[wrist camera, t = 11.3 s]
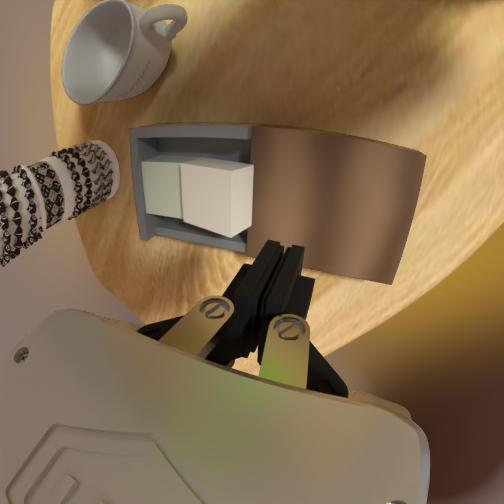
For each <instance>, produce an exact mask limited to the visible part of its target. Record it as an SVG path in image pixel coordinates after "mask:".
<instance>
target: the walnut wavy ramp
mask: <svg viewBox="0 0 504 504" xmlns="http://www.w3.org/2000/svg"><path fill="white" fill-rule="evenodd" d="M425 161H426V155H424V154H423V153H421V152H419V151H417V150H414V149H410V148H406V147H402V146H398V145H394V144H390V143H385V142H381V141H376V140H371V139H367V138H361V137H356V136H351V135H345V134H339V133H333V132H326V131H319V130H312V129H304V128H295V127H286V126H275V125H257V126H252V134H251V159H250V164H251V165H254V175H253V200H252V225H251V226H250V227H248V237H247V256H249V257H254V258H257V256H258V254H259V253H260V251H261V250H262V248H263V246H264V245H265V243H266V242H267V240H273V241H278V242H280V245H282V246H284V253H285V251H286V248H287V247H292V245H298V246H303V247H305V252H304V258H303V265H302V267H304V268H308V269H313V270H318V271H323V272H328V273H333V274H338V275H343V276H348V277H353V278H359V279H364V280H369V281H374V282H379V283H384V284H389V285H392V283H393V280H394V277H395V274H396V272H397V269H398V266H399V263H400V260H401V257H402V254H403V250H404V247H405V244H406V241H407V237H408V234H409V230H410V227H411V223H412V220H413V216H414V212H415V208H416V204H417V200H418V196H419V191H420V187H421V182H422V177H423V172H424V167H425Z"/></svg>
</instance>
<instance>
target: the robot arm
mask: <svg viewBox="0 0 504 504" xmlns="http://www.w3.org/2000/svg"><path fill="white" fill-rule="evenodd" d="M304 252H305V247H303V246H298V245H292V247H287V248H286V251H285V253H284V246H282V245H280V242H278V241H273V240H267V242H266V243H265V245H264V246H263V248H262V250H261V251H260V253H259V254H258V256H257V258H256V259H255V261H254V262H253V264H252V265H250V264H244V265H243V266H242V267H241V269H240V270H239V272H238V273H237V274H236V276H235V277H234V279H233V280H232V282H231V283H230V285H229V286H228V288H227V289H226V291H225V292H224V294H223V295H222V296H208V297H205V298H203V299H202V300H200V301H199V302H198V303H197V304H196V305H195V306H194V307H193V308H192V309H191V310H190V311H188V312H187V313H186V314H185V315H184V316H180V317H176V318H172V319H168V320H164V321H160V322H156V323H152V324H148V325H146V326H143V327H142V328H140V325H138V324H133V323H128V322H122V321H118V320H113V319H108V318H103V317H101V316H99V315H96V314H93V313H89V312H86V311H81V310H75V309H63V310H58V311H55V312H53V313H51V314H50V315H49V316H47V317H46V318H45V319H43V320H42V321H41V322H40V323H39V324H38V325H36V327H34V328H33V329H32V330H31V331H30V332H29V333H28V334H27V335H26V336H25V337H24V338H23V339H22V340H21V341H20V342H19V343H18V344H17V345H16V347H15V348H14V349H13V350H12V351H11V352H10V353H9V354H8V355H7V357H6V358H5V359H4V360H3V361H2V363H1V364H0V504H426V500H427V494H428V486H429V476H430V453H429V446H428V441H427V438H426V436H425V434H424V432H423V431H422V429H421V428H420V427H419V426H418V425H417V424H415V423H414V422H413V421H411V417H410V414H409V412H408V411H407V410H406V409H405V408H404V407H402V406H400V405H397V404H394V403H391V402H389V401H386V400H383V399H380V398H378V397H375V396H372V395H370V394H367V393H365V392H362V391H360V390H356V392H354V391H352V390H350V389H348V388H347V386H346V384H345V383H344V381H343V380H342V379H341V378H340V377H339V375H338V374H337V373H336V372H335V371H334V369H333V368H332V367H331V366H330V365H329V363H328V362H327V361H326V360H325V359H324V357H323V356H322V355H321V354H320V353H319V351H318V350H317V349H316V348H315V347H314V345H313V344H312V343H311V342H310V327H309V325H308V323H307V321H305V320H306V317H307V313H308V309H309V305H310V301H311V297H312V293H313V288H314V283H315V279H314V278H309V277H304V276H301V271H302V265H303V258H304ZM257 346H258V360H257V361H258V363H259V365H260V366H261V367H260V371H259V376H255V375H252V374H248V373H245V372H242V371H239V370H235V369H232V366H233V365H234V363H235V359H237V358H240V357H244V358H248V356H249V353H250V352H253V353H254V352H255V350H256V348H257ZM389 502H390V503H389Z"/></svg>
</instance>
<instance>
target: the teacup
mask: <svg viewBox="0 0 504 504" xmlns="http://www.w3.org/2000/svg"><path fill="white" fill-rule="evenodd" d="M187 18H188V17H187V13H186V11H185V9H184V8H183V7H181V6H179V5H175V4H165V5H160V6H156V7H154V8H152V9H150V10H148V9H145V8H143V7H140V6H138V5H135V4H132V3H128V2H127V1H125V0H104V1H101V2H99V3H98V4H96V5H94V6H93V7H92V8H91V9H89V10H88V11H87V12H86V13H85V14H84V15H83V16H82V18H81V19H80V20H79V22H78V23H77V24H76V26H75V27H74V29H73V31H72V33H71V35H70V37H69V39H68V42H67V44H66V47H65V51H64V55H63V60H62V69H61V74H62V82H63V86H64V89H65V92H66V94H67V95H68V97H69V98H70V99H71V100H72V101H73V102H75V103H77V104H81V105H88V104H92V103H97V102H110V101H119V100H125V99H129V98H132V97H135V96H137V95H139V94H141V93H143V92H144V91H146V90H147V89H148V88H149V87H150V86H152V85H153V84H154V83H155V81H156V80H157V79H158V78H159V76H160V75H161V74H162V72H163V70H164V69H165V66H166V64H167V62H168V59H169V56H170V51H171V41H172V40H173V39H174V38H175V37H176V34H177V33H178V32H179V31H180V30H182V29H183V27H184V26H185V25H186V23H187ZM168 19H170V20H173V21H172V22H171V23H170V24H169V25H167V24H166V22H165V21H164V20H168Z"/></svg>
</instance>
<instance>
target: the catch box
mask: <svg viewBox="0 0 504 504" xmlns="http://www.w3.org/2000/svg"><path fill="white" fill-rule="evenodd" d="M257 125H261V124H244V123H165V124H152V125H146V126H140V127H135V128H130V129H129V132H130V150H131V164H132V176H133V186H134V195H135V203H136V211H137V219H138V226H139V232H140V239H143V240H147V241H148V240H149V239H150V238H151V237H153V236H154V235H160V236H164V237H169V238H174V239H179V240H184V241H189V242H194V243H199V244H204V245H209V246H214V247H219V248H224V249H229V250H234V251H239V252H243V253H247V237H248V228H247V229H245V230H243V231H242V232H240V233H238V234H237V235H235V236H233V237H232V238H230V237H227V236H224V235H221V234H218V233H215V232H212V231H210V230H207V229H204V228H201V227H198V226H195V225H192V224H189V223H186V222H184V219H181V218H175V217H168V216H162V215H155V214H149V213H146V206H145V197H144V187H143V177H142V164H141V162H142V161H145V160H148V159H151V158H154V157H157V156H188V157H205V158H212V159H219V160H226V161H233V162H239V163H245V164H250V159H251V134H252V126H257Z"/></svg>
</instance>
